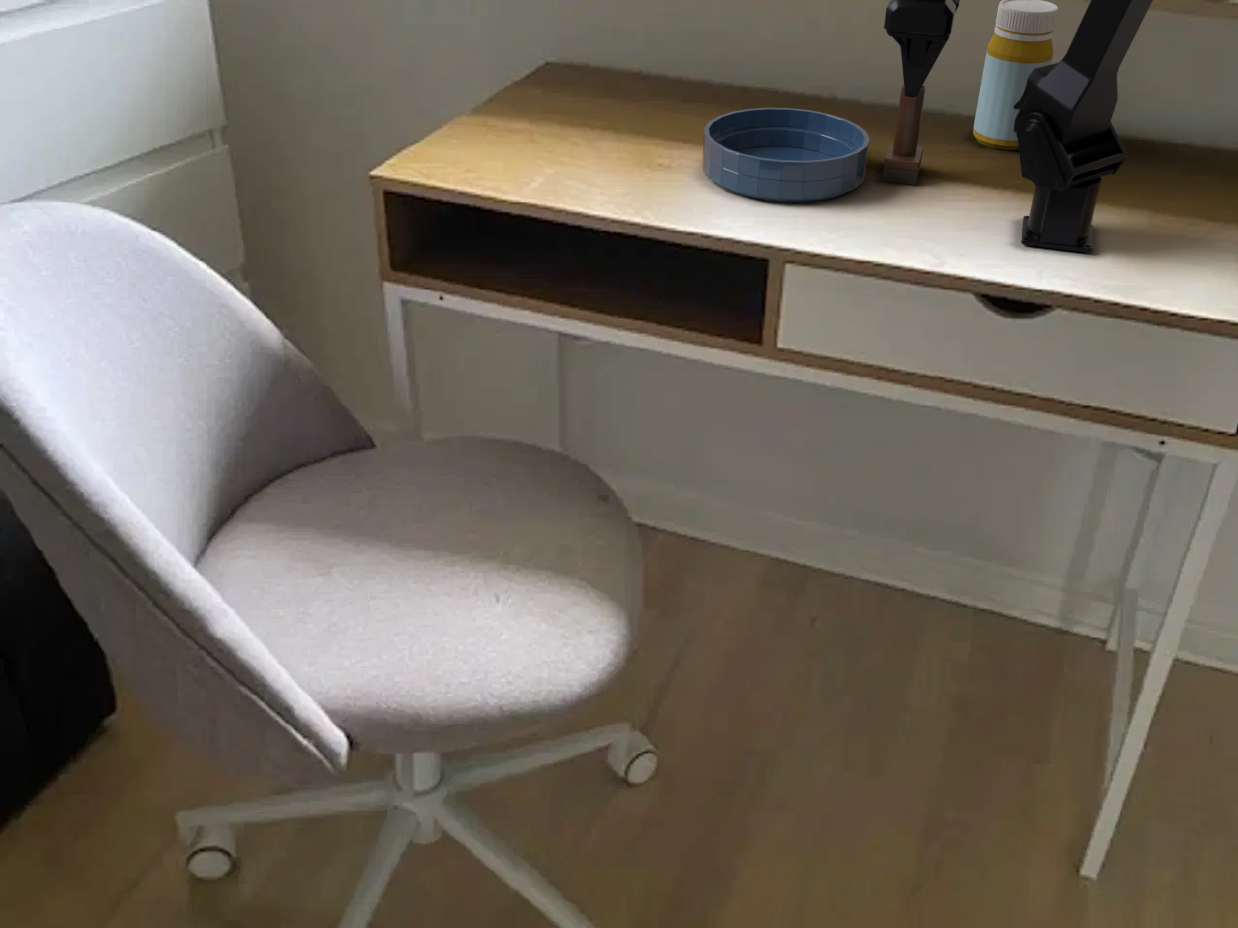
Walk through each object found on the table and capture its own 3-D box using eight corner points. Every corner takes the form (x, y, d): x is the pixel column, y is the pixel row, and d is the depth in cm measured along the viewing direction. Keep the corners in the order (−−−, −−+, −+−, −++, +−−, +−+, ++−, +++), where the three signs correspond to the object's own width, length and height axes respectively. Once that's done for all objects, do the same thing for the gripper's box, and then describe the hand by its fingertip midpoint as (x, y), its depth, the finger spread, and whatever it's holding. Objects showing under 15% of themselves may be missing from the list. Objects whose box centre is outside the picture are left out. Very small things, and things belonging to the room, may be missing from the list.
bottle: (1029, 132, 150) (1055, -2, 142) (1039, 153, 144) (1067, 15, 136) (968, 129, 151) (991, -4, 143) (976, 150, 145) (1000, 12, 137)
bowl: (852, 214, 128) (857, 170, 126) (685, 193, 132) (687, 151, 130) (873, 158, 142) (878, 117, 140) (721, 140, 146) (723, 101, 144)
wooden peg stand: (915, 185, 135) (929, 95, 130) (881, 181, 136) (893, 91, 131) (919, 169, 139) (933, 81, 134) (887, 166, 140) (899, 78, 135)
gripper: (865, -101, 133) (848, 52, 142) (839, -68, 118) (822, 102, 127) (976, -94, 131) (952, 62, 139) (964, -59, 116) (938, 114, 124)
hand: (915, 83), depth 132 cm, fingers open, 9 cm apart
